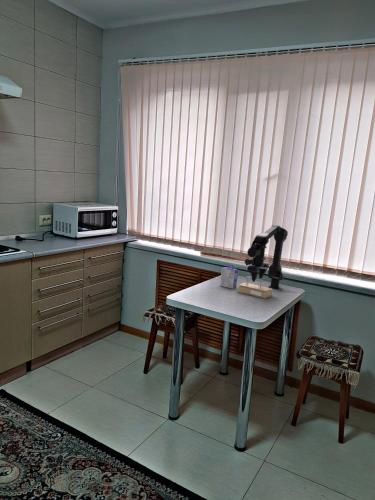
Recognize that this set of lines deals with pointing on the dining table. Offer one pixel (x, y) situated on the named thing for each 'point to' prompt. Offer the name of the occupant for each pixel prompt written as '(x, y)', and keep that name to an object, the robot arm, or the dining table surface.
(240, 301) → the dining table surface
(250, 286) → the flap
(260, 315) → the dining table surface
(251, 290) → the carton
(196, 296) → the dining table surface
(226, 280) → the ink cartridge box
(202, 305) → the dining table surface
